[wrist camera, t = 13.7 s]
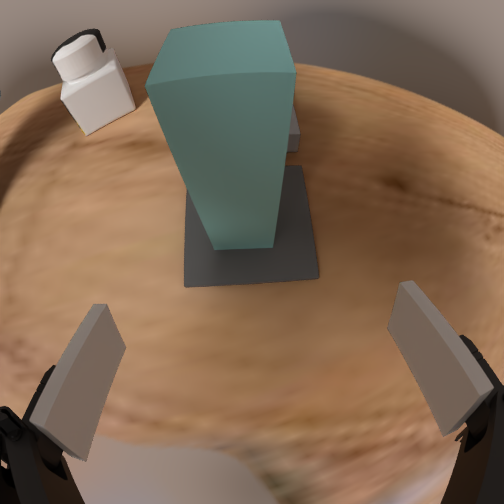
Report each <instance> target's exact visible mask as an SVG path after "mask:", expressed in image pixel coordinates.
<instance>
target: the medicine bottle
mask: <svg viewBox="0 0 504 504" xmlns="http://www.w3.org/2000/svg"><path fill="white" fill-rule="evenodd" d="M51 61H52V63H53V65H54V66H55V68H56V70H57V72H58V73H59V75H60V77H61V78H62V80H63V85H62V91H61V101H62V102H63V104H64V105H65V107H66V108H67V110H68V111H69V113H70V114H71V116H72V117H73V119H74V120H75V122H76V123H77V124H78V126H79V127H80V129H81V130H82V132H83V133H84V134H85V135H86V136H88V135H90V134H91V133H93V132H95V131H97V130H98V129H100V128H102V127H104V126H105V125H107V124H109V123H111V122H113V121H115V120H116V119H118V118H120V117H122V116H124V115H126V114H128V113H130V112H132V111H134V110H135V109H136V106H135V103H134V100H133V97H132V94H131V90H130V87H129V84H128V81H127V79H126V77H125V74H124V72H123V70H122V67H121V65H120V63H119V60H118V58H117V55H116V53H115V51H114V49H113V48H110V49H108V50H107V48H106V45H105V43H104V41H103V38H102V36H101V34H100V31H99V30H98V29H89V30H84V31H82V32H79V33H77V34H76V35H74V36H72V37H70V38H69V39H67V40H66V41H65V42H63V43H62V44H61V45H60V46H59V47H58V48H57V49H56V51H55V52H54V53H53V55H52V58H51Z"/></svg>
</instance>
